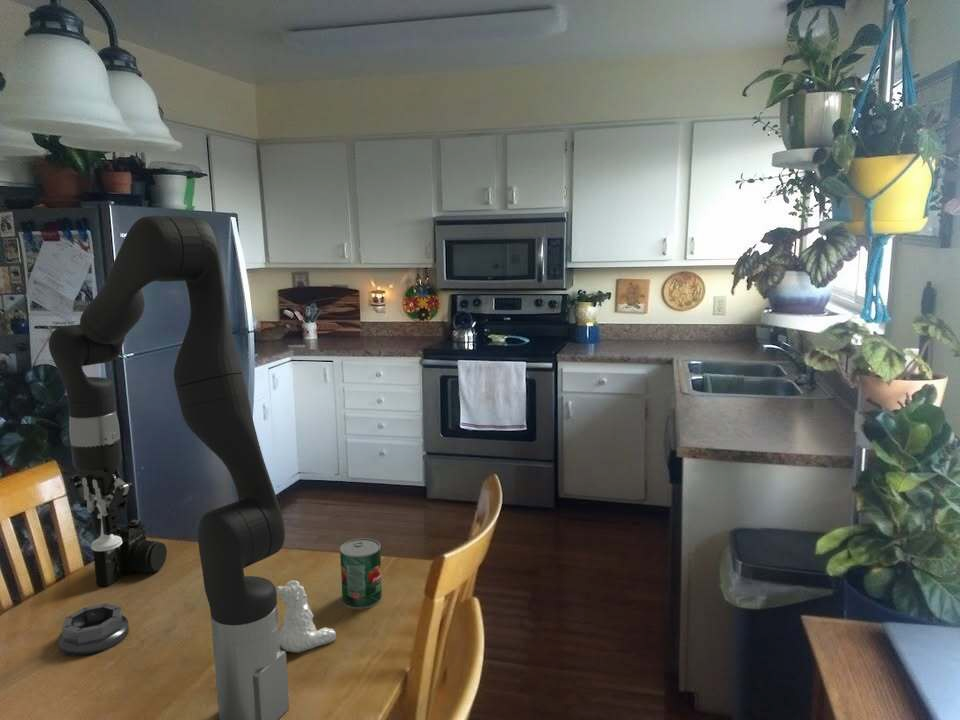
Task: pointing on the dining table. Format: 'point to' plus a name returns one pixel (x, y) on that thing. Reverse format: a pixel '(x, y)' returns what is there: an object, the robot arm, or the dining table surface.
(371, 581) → the canned tomato
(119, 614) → the ashtray
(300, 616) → the sitting furry creature
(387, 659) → the dining table surface
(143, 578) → the dining table surface
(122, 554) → the camera
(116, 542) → the chess piece
